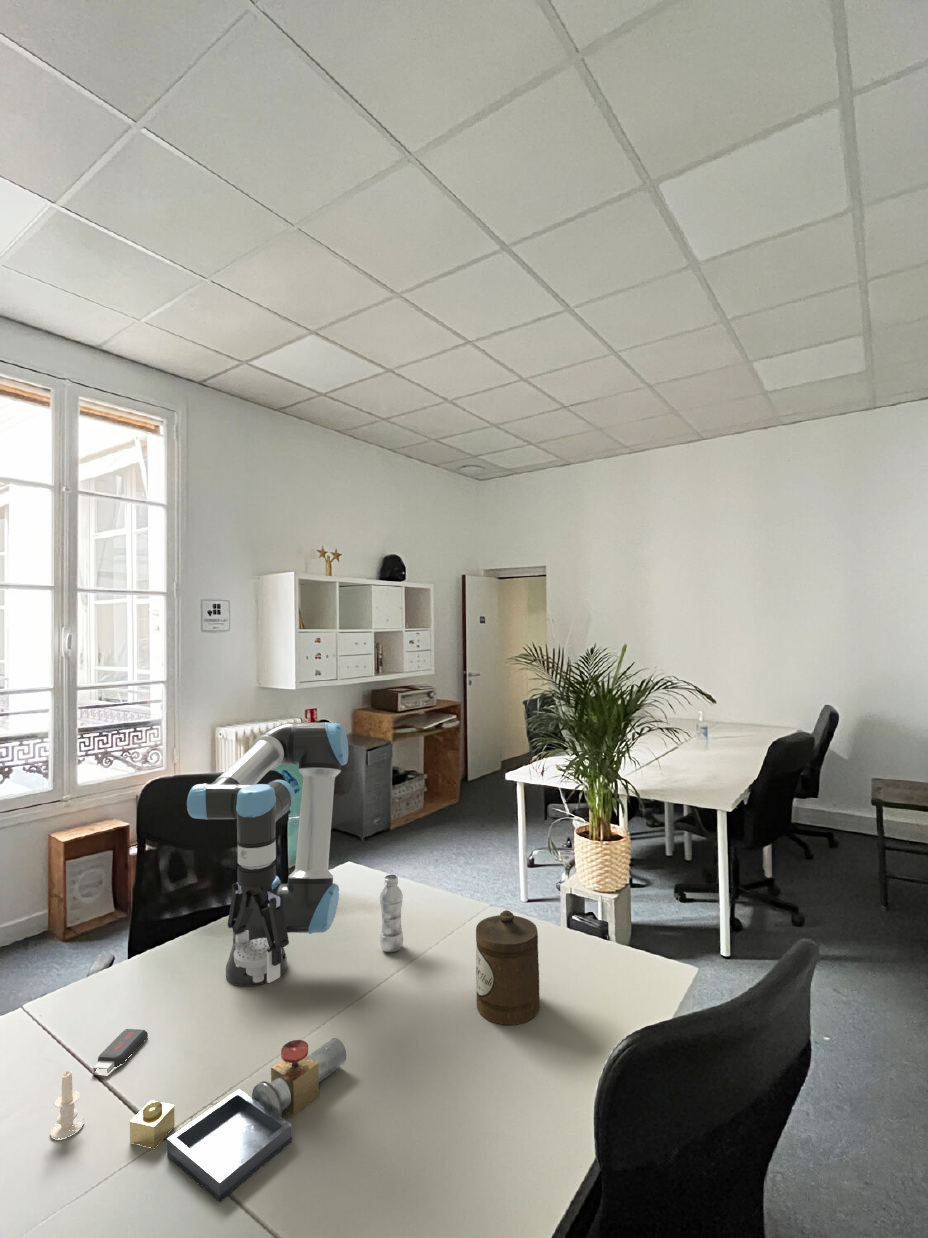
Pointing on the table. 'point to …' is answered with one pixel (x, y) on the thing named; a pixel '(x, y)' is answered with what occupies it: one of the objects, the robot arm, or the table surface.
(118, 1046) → the usb drive
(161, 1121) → the brass block
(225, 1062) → the table surface
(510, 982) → the wooden container
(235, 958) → the showerhead
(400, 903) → the plastic bottle
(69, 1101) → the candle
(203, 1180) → the metal assembly
